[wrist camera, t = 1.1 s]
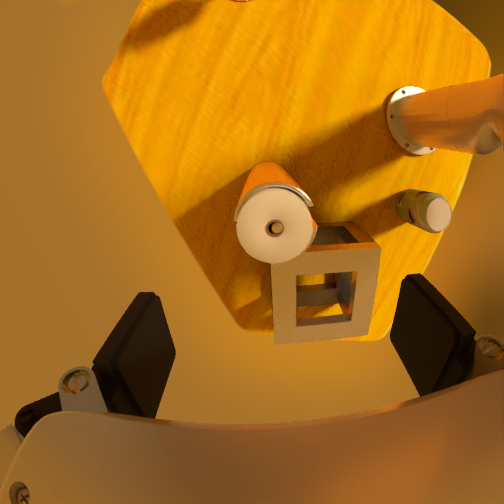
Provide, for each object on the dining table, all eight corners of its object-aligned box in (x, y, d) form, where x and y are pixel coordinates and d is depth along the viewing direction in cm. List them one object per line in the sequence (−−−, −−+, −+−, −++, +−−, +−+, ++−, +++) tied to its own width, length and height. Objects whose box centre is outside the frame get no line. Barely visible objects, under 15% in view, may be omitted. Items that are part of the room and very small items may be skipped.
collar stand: (354, 221, 45) (381, 247, 34) (348, 296, 50) (367, 334, 39) (267, 226, 45) (270, 254, 34) (272, 302, 51) (274, 344, 40)
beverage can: (407, 226, 44) (441, 251, 33) (383, 200, 43) (417, 220, 32) (426, 202, 42) (464, 221, 31) (404, 175, 41) (443, 187, 30)
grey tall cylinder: (280, 206, 44) (302, 278, 21) (242, 194, 44) (221, 255, 20) (293, 168, 42) (334, 200, 19) (254, 156, 41) (246, 171, 18)
